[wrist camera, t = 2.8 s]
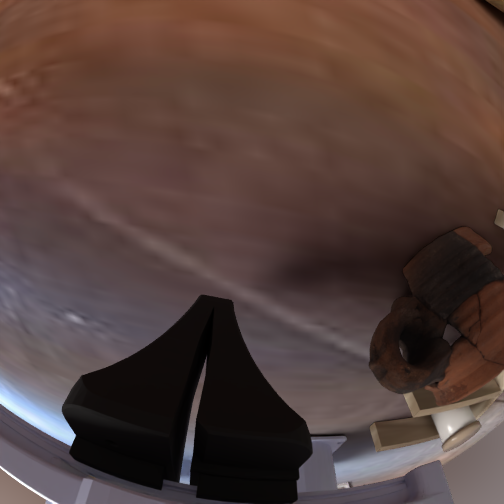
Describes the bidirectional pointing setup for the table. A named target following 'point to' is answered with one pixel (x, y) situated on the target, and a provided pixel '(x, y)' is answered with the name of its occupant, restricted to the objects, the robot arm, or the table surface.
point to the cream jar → (455, 426)
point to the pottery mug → (444, 322)
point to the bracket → (432, 409)
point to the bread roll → (497, 4)
